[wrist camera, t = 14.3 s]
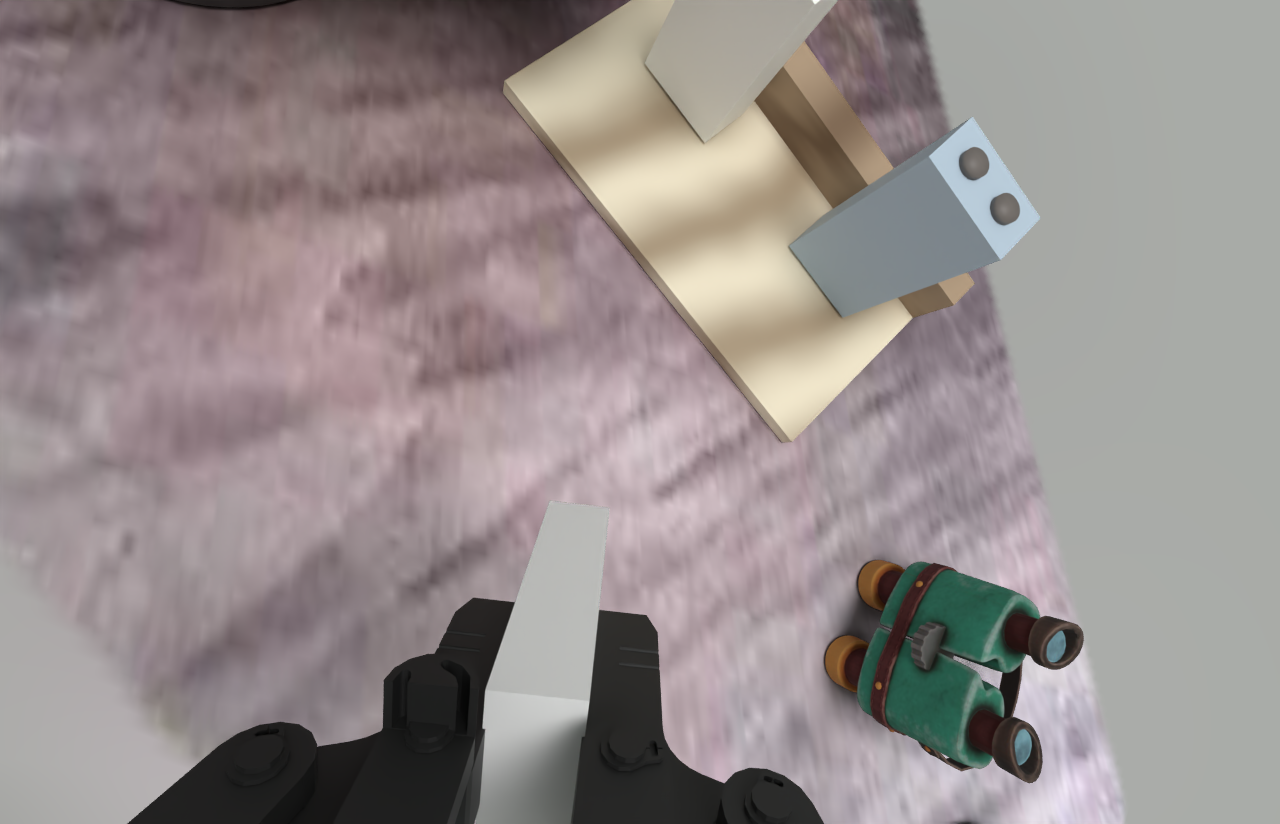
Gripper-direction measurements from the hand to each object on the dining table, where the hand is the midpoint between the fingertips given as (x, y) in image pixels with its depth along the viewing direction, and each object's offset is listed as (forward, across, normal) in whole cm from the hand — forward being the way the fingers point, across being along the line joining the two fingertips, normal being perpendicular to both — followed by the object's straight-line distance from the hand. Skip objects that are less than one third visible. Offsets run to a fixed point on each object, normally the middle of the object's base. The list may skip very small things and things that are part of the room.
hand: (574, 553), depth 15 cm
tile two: (+20, +12, +8) cm, 25 cm away
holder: (+21, +6, +10) cm, 24 cm away
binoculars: (+16, +18, -12) cm, 27 cm away
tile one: (+21, +3, +16) cm, 27 cm away
